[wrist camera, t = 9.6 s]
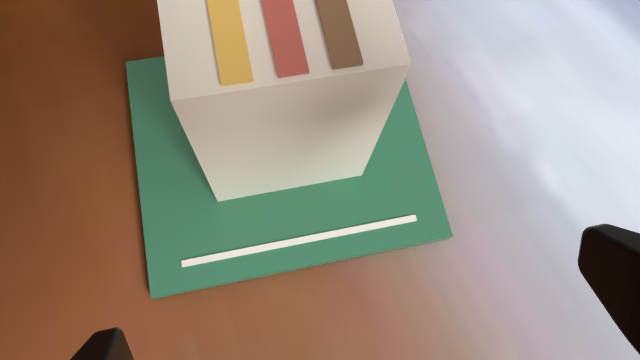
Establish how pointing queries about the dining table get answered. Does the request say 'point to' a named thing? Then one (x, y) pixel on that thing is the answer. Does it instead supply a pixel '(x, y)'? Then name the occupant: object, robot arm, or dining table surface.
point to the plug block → (282, 87)
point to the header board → (271, 202)
